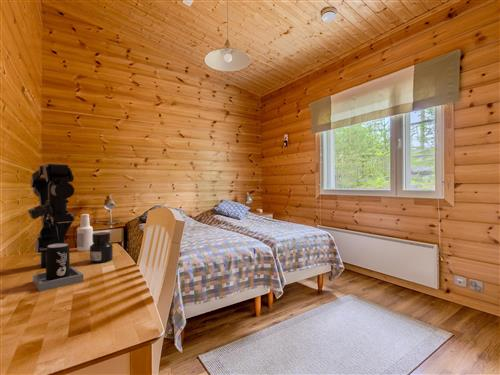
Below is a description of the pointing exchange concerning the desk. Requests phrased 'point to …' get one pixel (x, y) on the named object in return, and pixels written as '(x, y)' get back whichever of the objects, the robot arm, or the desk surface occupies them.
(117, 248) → the desk surface
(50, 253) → the beverage can
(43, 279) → the gray rectangular tray
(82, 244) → the spray bottle
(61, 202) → the robot arm
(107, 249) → the ink bottle
